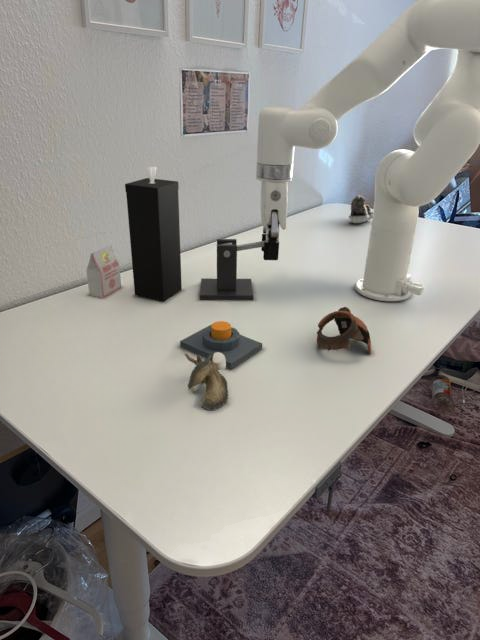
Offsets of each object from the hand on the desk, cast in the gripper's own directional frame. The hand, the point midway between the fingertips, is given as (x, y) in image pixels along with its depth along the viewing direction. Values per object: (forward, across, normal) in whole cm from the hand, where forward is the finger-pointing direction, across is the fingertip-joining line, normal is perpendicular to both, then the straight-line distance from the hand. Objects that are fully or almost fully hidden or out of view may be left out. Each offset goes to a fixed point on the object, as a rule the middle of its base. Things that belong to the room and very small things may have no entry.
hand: (269, 254), depth 107 cm
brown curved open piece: (+9, -26, -12) cm, 30 cm away
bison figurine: (+9, +62, -38) cm, 73 cm away
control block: (+9, -26, +11) cm, 30 cm away
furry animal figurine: (+9, -40, +13) cm, 43 cm away
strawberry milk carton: (+10, 0, +37) cm, 38 cm away
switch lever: (-1, 0, +5) cm, 5 cm away
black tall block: (+9, -1, +25) cm, 27 cm away
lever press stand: (+9, 0, +10) cm, 13 cm away
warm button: (+7, -26, +11) cm, 29 cm away
